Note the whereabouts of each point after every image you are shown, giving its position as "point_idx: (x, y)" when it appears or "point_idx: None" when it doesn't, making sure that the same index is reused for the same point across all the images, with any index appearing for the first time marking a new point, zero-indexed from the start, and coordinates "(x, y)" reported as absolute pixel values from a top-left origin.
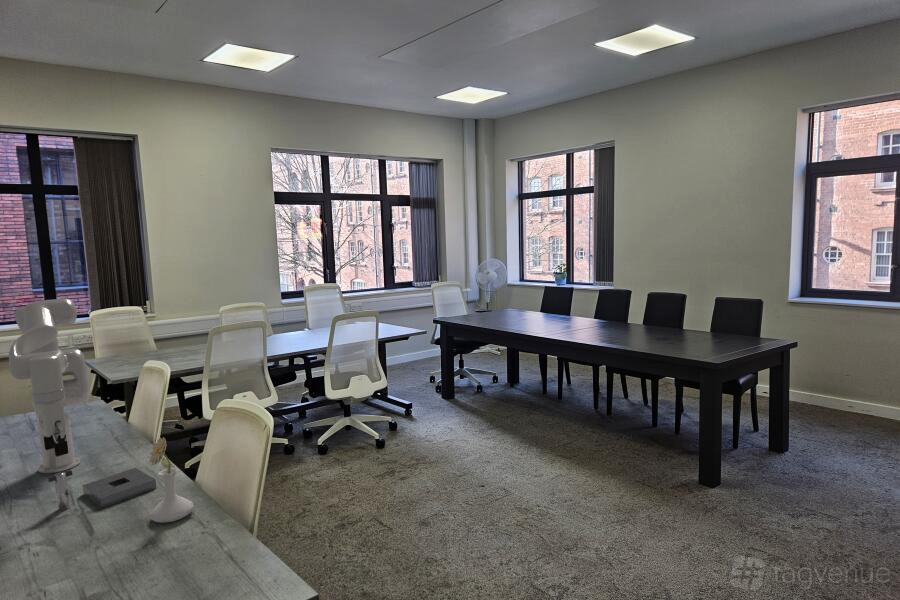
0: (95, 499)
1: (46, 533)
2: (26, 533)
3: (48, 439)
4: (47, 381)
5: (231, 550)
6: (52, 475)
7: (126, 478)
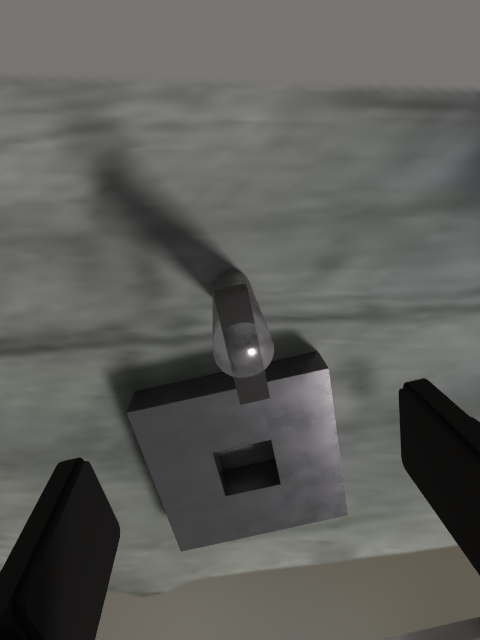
0: (191, 387)
1: (21, 221)
2: (72, 152)
3: (475, 496)
4: None
5: None
6: (252, 316)
7: (265, 488)
